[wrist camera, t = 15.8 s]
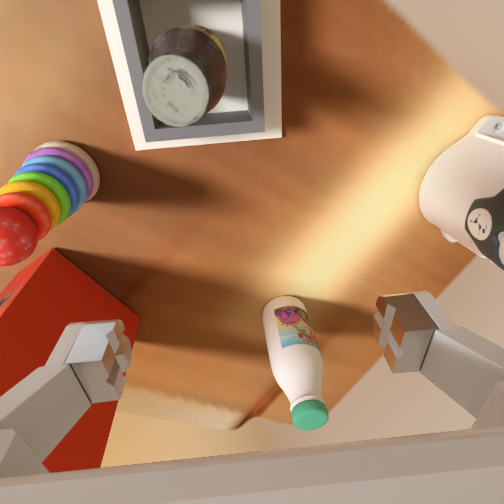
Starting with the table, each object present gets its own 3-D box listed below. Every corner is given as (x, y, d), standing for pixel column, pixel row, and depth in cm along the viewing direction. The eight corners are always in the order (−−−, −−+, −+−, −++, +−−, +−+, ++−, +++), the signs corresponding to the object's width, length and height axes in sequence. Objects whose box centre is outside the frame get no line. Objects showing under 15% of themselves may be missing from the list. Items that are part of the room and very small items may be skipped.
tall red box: (105, 337, 57) (12, 598, 31) (16, 274, 49) (-222, 561, 22) (140, 316, 56) (73, 575, 29) (53, 246, 47) (-157, 523, 20)
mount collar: (278, -57, 32) (292, -77, 26) (281, 136, 42) (291, 151, 36) (87, -45, 31) (59, -63, 25) (136, 149, 41) (124, 166, 35)
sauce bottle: (213, 15, 34) (217, 4, 17) (233, 80, 37) (252, 123, 21) (154, 38, 34) (102, 48, 18) (179, 100, 38) (155, 156, 21)
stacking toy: (79, 212, 44) (5, 307, 29) (20, 170, 41) (-101, 254, 25) (114, 172, 42) (55, 252, 26) (55, 124, 38) (-54, 185, 23)
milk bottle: (286, 332, 61) (313, 443, 44) (252, 316, 58) (268, 429, 41) (314, 305, 58) (354, 414, 41) (280, 287, 55) (309, 396, 38)
